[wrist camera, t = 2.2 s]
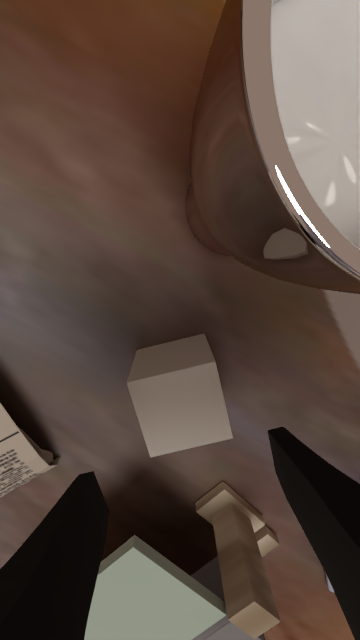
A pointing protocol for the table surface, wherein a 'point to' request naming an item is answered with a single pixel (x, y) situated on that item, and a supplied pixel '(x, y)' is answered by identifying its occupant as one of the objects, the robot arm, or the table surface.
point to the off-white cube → (178, 396)
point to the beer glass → (281, 141)
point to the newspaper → (19, 456)
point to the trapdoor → (158, 599)
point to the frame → (242, 558)
